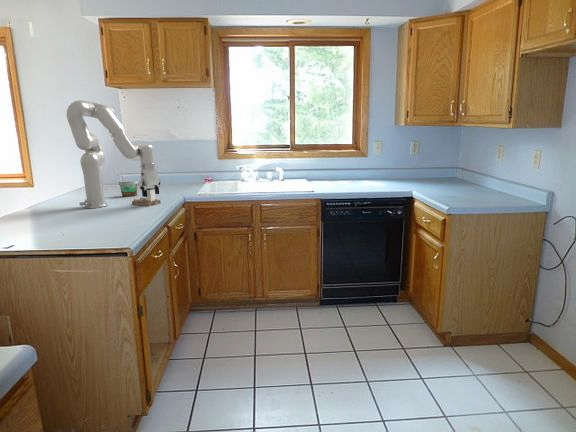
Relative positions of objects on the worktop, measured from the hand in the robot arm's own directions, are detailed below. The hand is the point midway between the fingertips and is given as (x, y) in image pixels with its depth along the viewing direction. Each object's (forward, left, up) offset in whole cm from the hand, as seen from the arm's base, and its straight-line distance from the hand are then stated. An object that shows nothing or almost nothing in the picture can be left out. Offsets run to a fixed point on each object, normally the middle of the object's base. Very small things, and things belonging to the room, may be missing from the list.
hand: (151, 195), depth 247 cm
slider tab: (0, 0, -3) cm, 3 cm away
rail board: (0, +4, -5) cm, 7 cm away
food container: (+15, +35, -6) cm, 38 cm away
